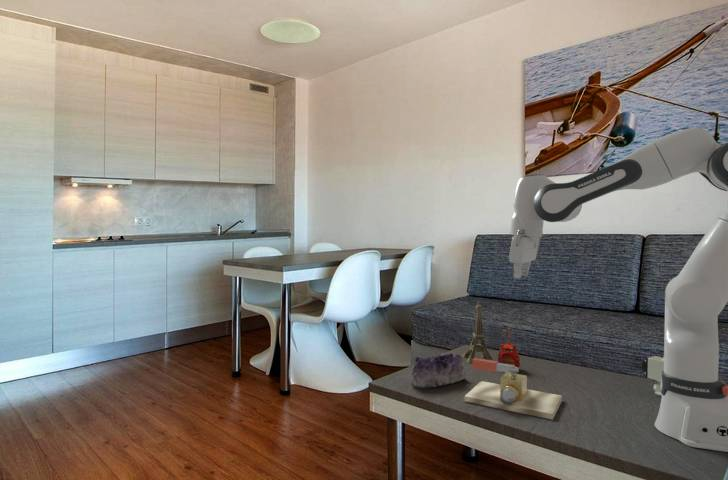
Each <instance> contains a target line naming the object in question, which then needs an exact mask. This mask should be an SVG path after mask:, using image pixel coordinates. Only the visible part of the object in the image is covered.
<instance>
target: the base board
mask: <svg viewBox="0 0 728 480" xmlns="http://www.w3.org/2000/svg"><path fill="white" fill-rule="evenodd" d="M463 399H464V400H463V401H464V402H466V403H471V404H476V405H481V406H485V407H488V408H489V407H490V408H495V409H500V410H505V411H509V412H514V413H519V414H524V415H529V416H534V417H538V418H543V419H549V420H552V421H553V420H554V418H555V416H556V414H557V411H558V410H559V408H560V406H561V404H562V401H563V395H560V394H554V393H551V392H545V391H544V392H543V391H540V390H539V391H538V390H533V389H527V395H526V396H525V397H524V399H523V400H522V401H517V400H516V402H512V403H511V404H510V405H506V404H504V403H503V402H502V401H501V399H500V384H499V383H494V382H488V381H483V380H480V381H479V382H478V383H477V384H476V385H475V386H474V387H473V388H471V390H470V391H469V392H468V393H466V394H465V395H464V398H463Z"/></svg>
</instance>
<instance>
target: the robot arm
mask: <svg viewBox="0 0 728 480" xmlns="http://www.w3.org/2000/svg"><path fill="white" fill-rule="evenodd" d="M694 173H699V174H700V175H701V176H702V177H703V178H704V179H705V180H706V181H708V183H710V184H711V186H713V187H715V188H717V189H719V190H720V191H724V192H728V141H727V142H725V143H723V144H721V143H719V142H717V141H715V138H714V137H713V136H712V134H710V132H709V131H707V130H706V129H704V128H702V127H697V126H696V127H690V128H686V129H682V130H679V131H676V132H673V133H670V134H668V135H665V136H662V137H660V138H657V139H655V140H653V141H651V142H649V143H647V144H645V145H642V146H640V147H639V148H637V149H635V150H634V151H633V150H632V152H630V153H629V154H627V155H625V156H624V157H621V158H620V159H619V160H617V161H616V162H614V163H612V164H609V165H608V166H606V167H603V168H601V169H598V170H596V171H595V172H593V173H590V174H587V175H585V176H583V177H580V178H578V179H576V180H572V181H569V182H561V183H560V182H559V183H556V182H554V181H553V180H552V179H550V178H548V176H546V175H545V174H540V173H539V174H529V175H525V176H522V177H521V178H520V179H519V180H518V181H517V184H516V186H515V187H516V188H515V192H514V193H515V194H514V199H513V208H514V210H513V215H512V217H511V224H510V231H509V234H510V235H511V236H512V237H511V238H512V239H511V242H510V243H511V244H510V248H509V255H508V261H509V262H510V263H512V264H513V278H515V279H521V278H522V276H524V277H526V276H528V275H529V269H530V267H531V264H532V263H531V262H533V261H536V258H537V255H538V252H539V247H540V246H539V245H540V241H541V239H540V238H542V237H543V232H544V231H543V230H544V229H543V228H544V222H549V223H557V222H559V223H564V222H566V223H567V222H569V221H572V220H573V219H575V218H578V217H577V216H579V214H580V213H581V210H582V206H583V204H586V203H588V202H590V201H594V200H596V199H598V198H600V197H603V196H605V195H609V194H611V193H614V192H617V191H623V190H647V189H650V188H655V187H658V186H661V185H665V184H668V183H670V182H671V181H672V182H673V181H674V180H677V179H679V178H682V177H685V176H686V175H690V174H694ZM664 292H665V293H664V333H663V335H664V337H663V338H664V339H663V342H664V344H663V345H664V346H663V356H664V370H663V371H662V374H661V382H660V383H661V393H662V396H661V400H660V405H659V409H658V414H657V417H656V419H655V422H654V427H655V428H656V430H658V431H659V432H661V433H662V434H664V435H666V436H668V437H670V438H673V439H675V440H678V441H679V442H681V443H682V444H684V445H686V446H687V447H692V448H697V449H703V450H704V449H705V450H710V451H711V450H712V451H717V452H718V451H719V452H725V453H728V383H726V382H725V380H723V379H720V378H719V360H720V359H719V358H720V354H719V353H720V343H719V326H718V324H719V323H718V321H719V320H718V316H719V315H720V314H721V312H722V311H723V310H724V308H725V306H727V303H728V201H727V202H726V203H725V206H724V207H723V208H722V210H721V211H720V213H719V214H718V215H717V217H716V219H714V221H713V222H712V224H711V225H710V227H709V228H708V230H707V231H706V232H705V234H704V235H703V236H702V238H701V240H700V241H699V243H698V244H697V245H696V247H695V248H694V250H693V252H692V254H691V255H690V257H689V258H688V260H687V261H686V262H685V265H684V266H683V267H682V269H681V270H680V271H679V273H678V274H677V275H676V276H675V277H673V278H672V279H671V280H670V281H669V282H668V284H667V285H666V287H665V291H664Z"/></svg>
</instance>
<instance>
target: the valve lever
mask: <svg viewBox="0 0 728 480" xmlns="http://www.w3.org/2000/svg"><path fill="white" fill-rule="evenodd" d="M471 367H472V369H475V370H481V371H485V372H486V371H488V372H492V373H493V372H494V373H496V372H501V373H506V372H507V373H511V376H513V377H516V376H517V374H518V373H519V372H520V371H519V369H520V367H519V368H518V367H515V365H509V364H503V363H498V360H494V359H493V360H487V358H480V357H479V358H478V357H475V358H474V359H473V360H472V366H471Z"/></svg>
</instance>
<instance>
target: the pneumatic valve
mask: <svg viewBox="0 0 728 480" xmlns="http://www.w3.org/2000/svg"><path fill="white" fill-rule="evenodd" d="M640 365H641V366H640V368H641V372H643V373H644V375H645V376H644V377H645V378H647V379H650V380H655V381H657V383H654V384H653V391H654V394H655V395H656V396H659V397H662V393H661V374H662V371H663V370H664V355H663V357H661V356H657V355H651V356H645V358H644V359H642V362H641V364H640Z"/></svg>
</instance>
